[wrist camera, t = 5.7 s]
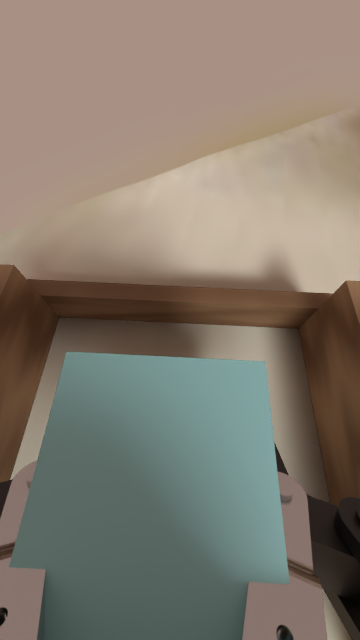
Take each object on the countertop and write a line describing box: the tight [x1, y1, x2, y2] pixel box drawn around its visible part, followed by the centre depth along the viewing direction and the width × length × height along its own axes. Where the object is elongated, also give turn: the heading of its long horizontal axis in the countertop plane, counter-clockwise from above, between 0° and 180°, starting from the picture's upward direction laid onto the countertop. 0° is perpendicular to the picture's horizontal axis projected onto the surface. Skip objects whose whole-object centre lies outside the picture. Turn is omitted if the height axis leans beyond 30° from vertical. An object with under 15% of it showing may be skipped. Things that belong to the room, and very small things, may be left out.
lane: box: [0, 265, 360, 506], centre depth 13 cm, size 19×20×6 cm
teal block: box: [9, 352, 290, 640], centre depth 10 cm, size 5×5×11 cm
